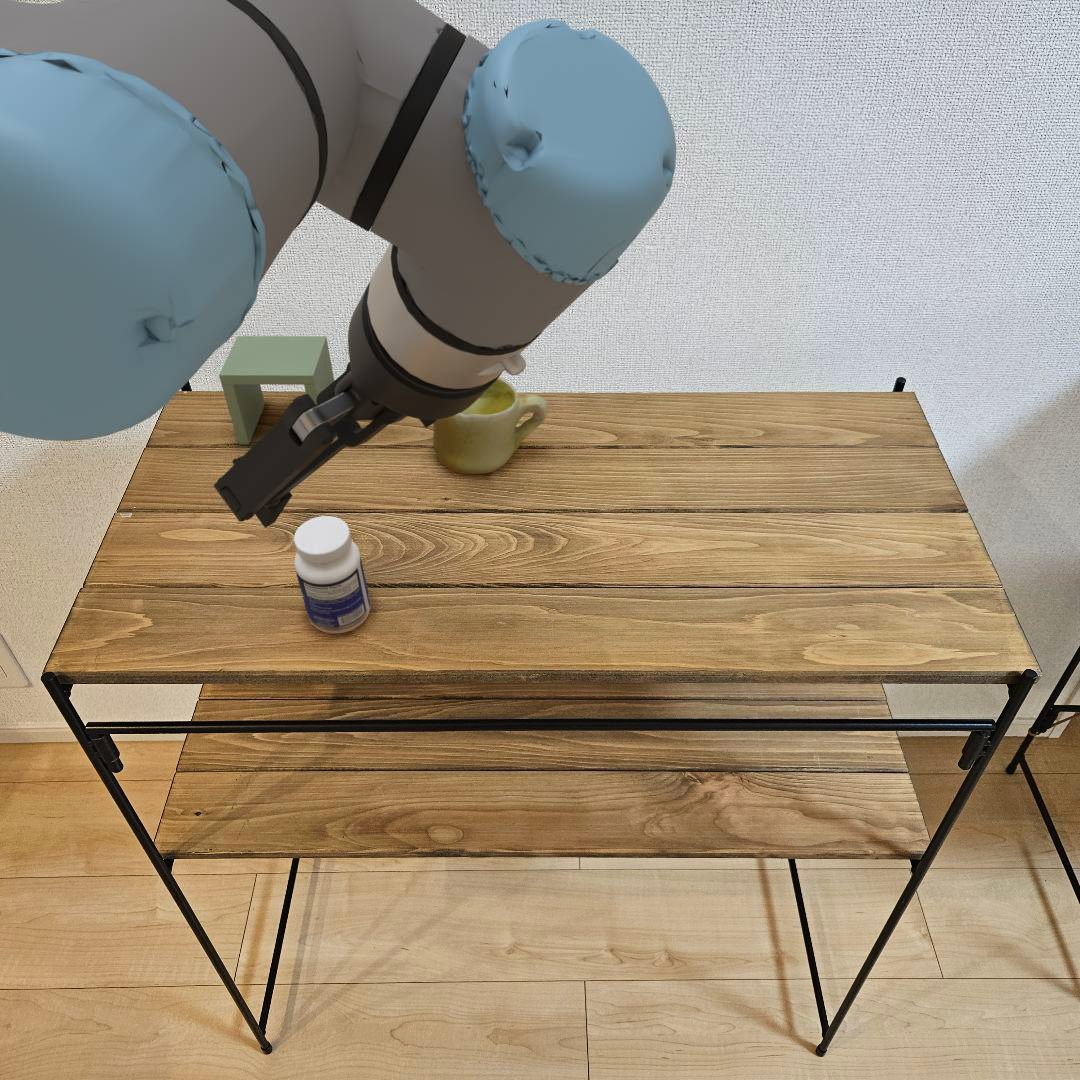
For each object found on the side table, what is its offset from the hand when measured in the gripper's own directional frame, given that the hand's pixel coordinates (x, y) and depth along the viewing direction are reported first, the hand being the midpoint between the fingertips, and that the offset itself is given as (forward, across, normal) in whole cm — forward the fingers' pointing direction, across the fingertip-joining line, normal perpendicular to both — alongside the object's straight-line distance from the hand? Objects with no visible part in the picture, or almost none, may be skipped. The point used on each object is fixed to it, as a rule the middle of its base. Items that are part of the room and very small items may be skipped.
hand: (342, 456), depth 61 cm
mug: (+30, +26, -4) cm, 40 cm away
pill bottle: (+23, 0, -9) cm, 25 cm away
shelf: (+42, +13, +12) cm, 46 cm away
